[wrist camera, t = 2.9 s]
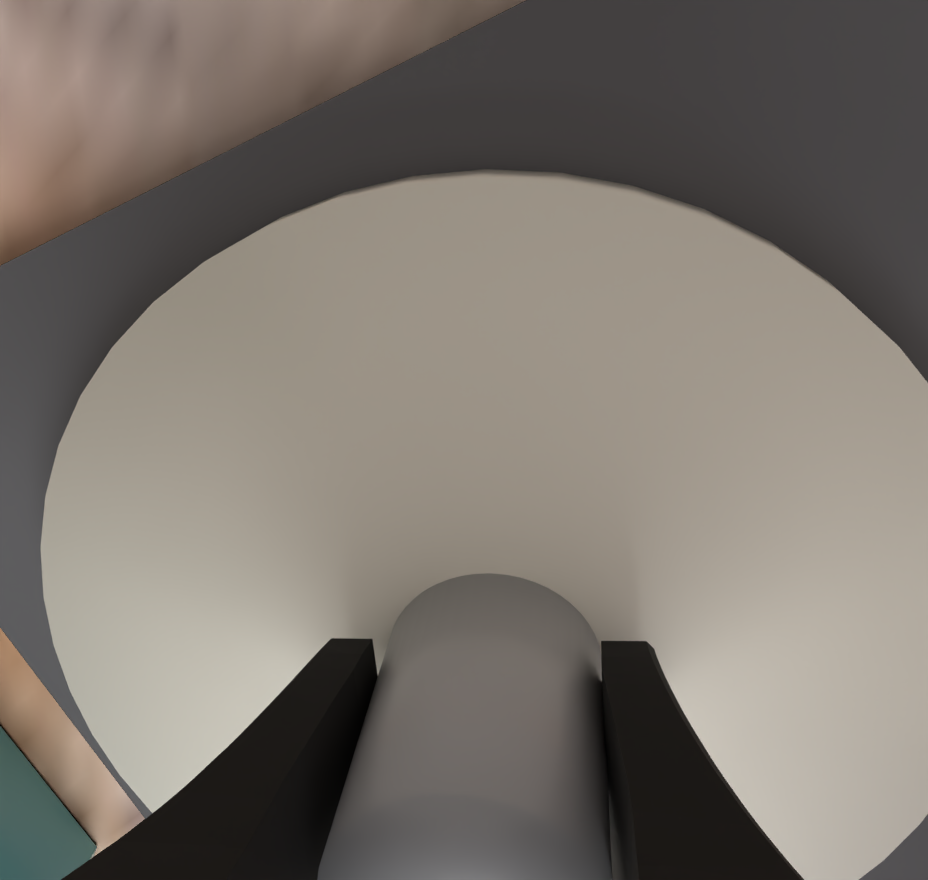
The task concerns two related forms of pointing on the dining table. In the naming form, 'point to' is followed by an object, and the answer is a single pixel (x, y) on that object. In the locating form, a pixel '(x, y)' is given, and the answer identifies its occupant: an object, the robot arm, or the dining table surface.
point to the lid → (507, 521)
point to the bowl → (35, 824)
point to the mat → (522, 149)
